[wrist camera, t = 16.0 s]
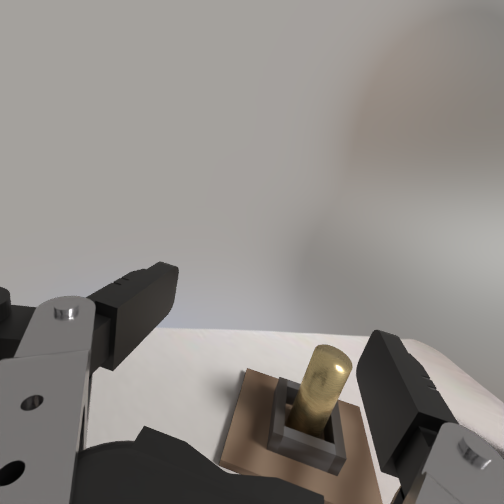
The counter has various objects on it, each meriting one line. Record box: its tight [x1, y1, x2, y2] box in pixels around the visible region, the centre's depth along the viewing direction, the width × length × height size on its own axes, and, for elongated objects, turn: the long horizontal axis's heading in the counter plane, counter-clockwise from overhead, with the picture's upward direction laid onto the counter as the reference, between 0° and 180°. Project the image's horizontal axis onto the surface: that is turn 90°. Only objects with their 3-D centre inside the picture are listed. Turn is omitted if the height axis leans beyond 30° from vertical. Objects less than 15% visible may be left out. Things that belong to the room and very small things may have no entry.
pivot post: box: [286, 345, 352, 438], centre depth 31 cm, size 4×4×12 cm
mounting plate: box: [219, 368, 383, 504], centre depth 33 cm, size 18×14×4 cm
